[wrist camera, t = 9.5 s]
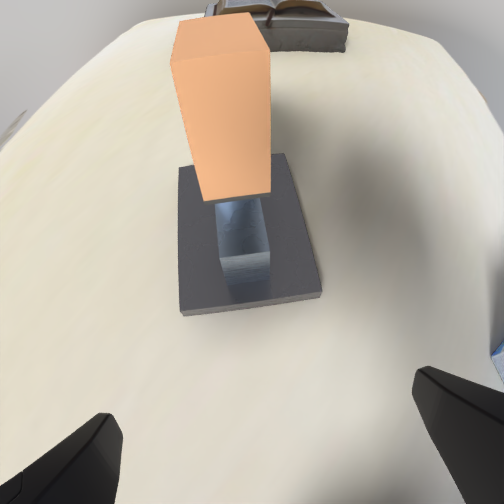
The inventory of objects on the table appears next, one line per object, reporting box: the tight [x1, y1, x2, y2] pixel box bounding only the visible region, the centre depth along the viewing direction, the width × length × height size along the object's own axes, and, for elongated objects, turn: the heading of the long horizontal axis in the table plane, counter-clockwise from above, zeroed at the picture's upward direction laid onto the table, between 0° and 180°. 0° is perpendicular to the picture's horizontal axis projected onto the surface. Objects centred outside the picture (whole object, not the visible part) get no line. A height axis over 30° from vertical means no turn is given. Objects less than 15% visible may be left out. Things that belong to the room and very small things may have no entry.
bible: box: [204, 0, 349, 53], centre depth 43 cm, size 23×27×10 cm
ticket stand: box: [178, 153, 322, 316], centre depth 20 cm, size 14×10×12 cm
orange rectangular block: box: [170, 12, 271, 205], centre depth 12 cm, size 5×3×7 cm, turn 8°
